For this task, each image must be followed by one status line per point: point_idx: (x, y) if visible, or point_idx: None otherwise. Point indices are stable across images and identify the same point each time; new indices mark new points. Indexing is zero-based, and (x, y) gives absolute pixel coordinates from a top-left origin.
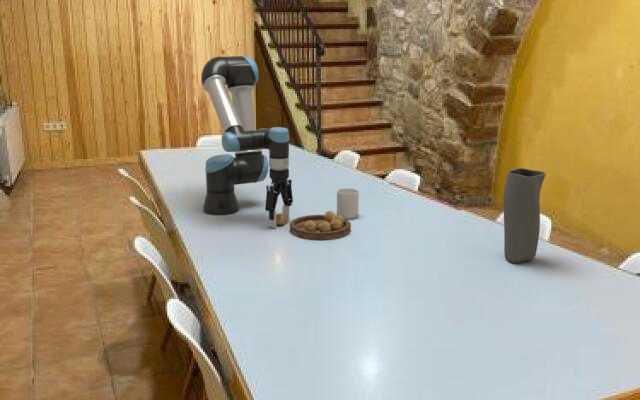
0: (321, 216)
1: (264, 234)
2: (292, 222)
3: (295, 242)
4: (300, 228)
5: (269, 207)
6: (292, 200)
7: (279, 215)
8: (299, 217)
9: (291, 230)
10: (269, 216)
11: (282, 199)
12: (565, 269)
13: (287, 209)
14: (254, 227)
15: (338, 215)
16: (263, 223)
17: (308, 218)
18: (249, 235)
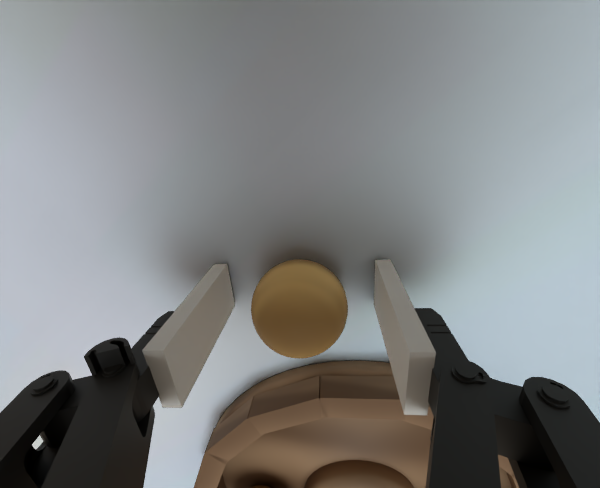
0: (512, 479)
1: (107, 313)
2: (278, 418)
3: (153, 463)
4: (278, 441)
5: (26, 463)
6: (552, 476)
7: (273, 345)
8: None
9: (226, 417)
10: (149, 333)
11: (433, 444)
12: None
13: (395, 379)
14: (138, 174)
15: None
16: (252, 163)
17: None
18: (24, 258)
